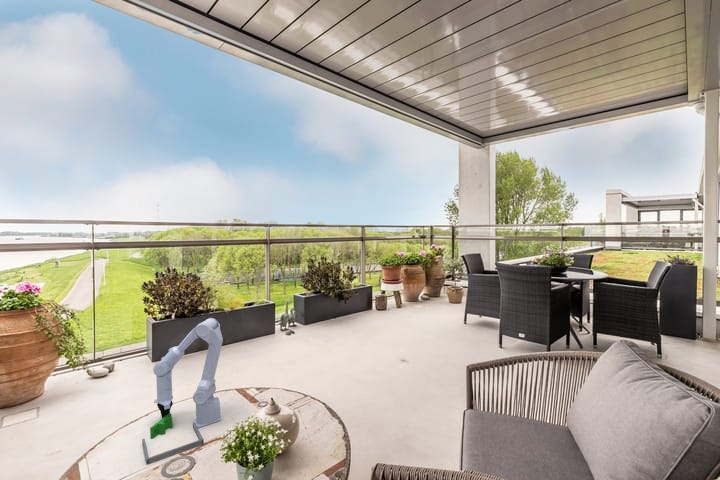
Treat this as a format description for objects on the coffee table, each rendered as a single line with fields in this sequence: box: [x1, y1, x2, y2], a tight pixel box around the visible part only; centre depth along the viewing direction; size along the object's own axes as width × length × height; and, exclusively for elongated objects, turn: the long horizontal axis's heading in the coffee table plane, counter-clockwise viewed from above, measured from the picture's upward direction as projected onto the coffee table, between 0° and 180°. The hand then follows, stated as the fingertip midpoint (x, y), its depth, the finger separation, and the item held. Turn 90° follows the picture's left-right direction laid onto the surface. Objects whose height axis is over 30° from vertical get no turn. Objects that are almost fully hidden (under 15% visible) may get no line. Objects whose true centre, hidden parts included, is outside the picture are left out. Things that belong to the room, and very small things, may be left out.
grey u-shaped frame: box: [141, 421, 205, 465], centre depth 132 cm, size 19×16×2 cm
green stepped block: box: [149, 412, 173, 440], centre depth 141 cm, size 11×4×5 cm, turn 173°
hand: (165, 419), depth 147 cm, fingers closed
